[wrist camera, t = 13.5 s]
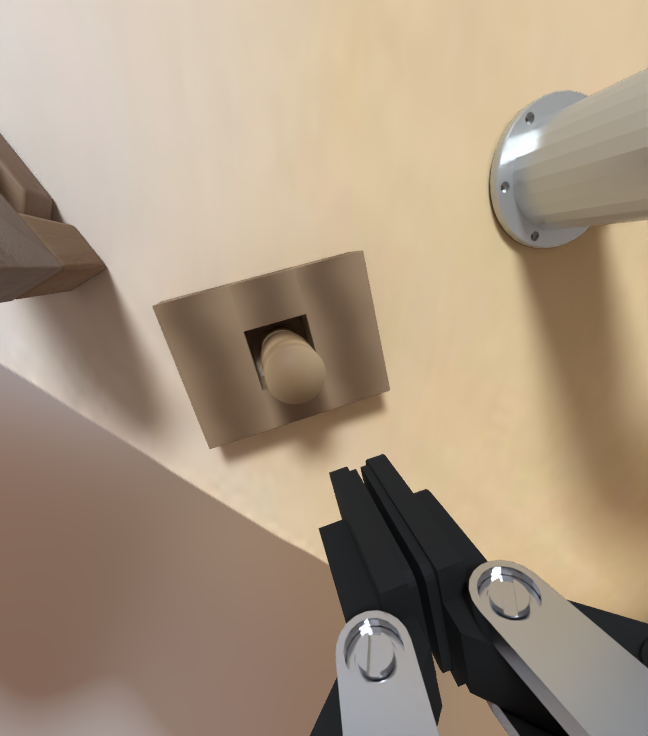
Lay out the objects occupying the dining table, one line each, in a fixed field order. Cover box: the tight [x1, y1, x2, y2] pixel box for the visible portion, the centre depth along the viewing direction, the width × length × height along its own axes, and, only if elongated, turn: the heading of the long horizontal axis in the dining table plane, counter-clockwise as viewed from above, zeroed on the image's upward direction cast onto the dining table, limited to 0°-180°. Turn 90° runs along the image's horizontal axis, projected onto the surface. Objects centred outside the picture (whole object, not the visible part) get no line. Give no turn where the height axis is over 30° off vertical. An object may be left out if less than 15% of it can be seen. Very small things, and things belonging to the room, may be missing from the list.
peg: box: [261, 325, 326, 404], centre depth 27 cm, size 4×4×10 cm
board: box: [153, 251, 390, 449], centre depth 30 cm, size 16×12×4 cm
